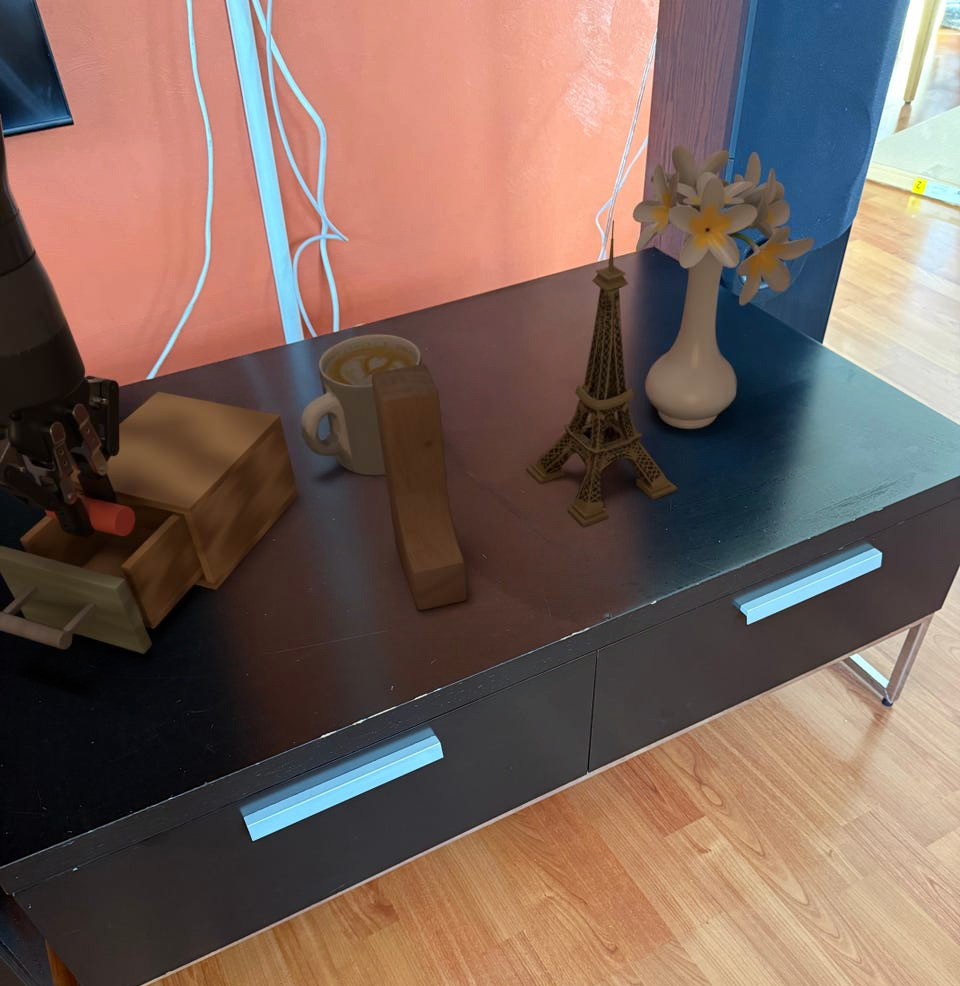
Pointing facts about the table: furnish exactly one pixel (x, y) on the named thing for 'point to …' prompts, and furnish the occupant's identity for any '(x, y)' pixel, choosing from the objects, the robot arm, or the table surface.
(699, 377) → the flower vase
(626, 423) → the eiffel tower
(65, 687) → the table surface
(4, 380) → the robot arm
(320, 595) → the table surface
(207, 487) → the cabinet
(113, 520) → the red cylinder
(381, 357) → the coffee mug
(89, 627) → the drawer
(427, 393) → the wooden block
